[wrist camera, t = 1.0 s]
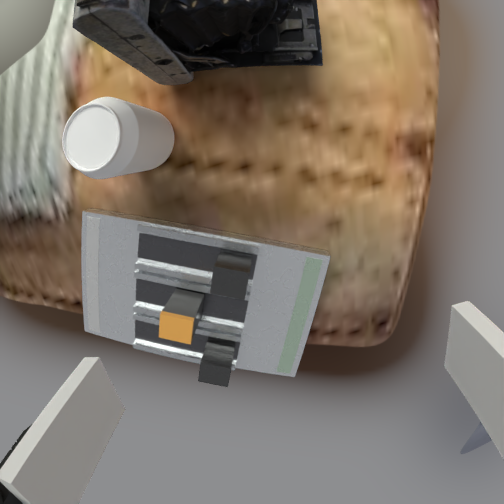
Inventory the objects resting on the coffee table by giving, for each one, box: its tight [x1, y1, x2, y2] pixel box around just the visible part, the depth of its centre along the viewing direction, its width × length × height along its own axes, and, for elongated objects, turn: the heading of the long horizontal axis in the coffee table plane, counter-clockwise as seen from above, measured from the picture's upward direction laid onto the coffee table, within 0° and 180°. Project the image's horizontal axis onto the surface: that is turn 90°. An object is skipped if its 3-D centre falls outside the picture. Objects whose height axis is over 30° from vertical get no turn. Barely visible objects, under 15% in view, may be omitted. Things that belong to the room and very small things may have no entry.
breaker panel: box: [82, 208, 330, 387], centre depth 32 cm, size 26×15×7 cm, turn 80°
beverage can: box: [62, 97, 174, 179], centre depth 25 cm, size 6×6×12 cm
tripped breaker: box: [159, 289, 204, 345], centre depth 30 cm, size 3×2×6 cm
